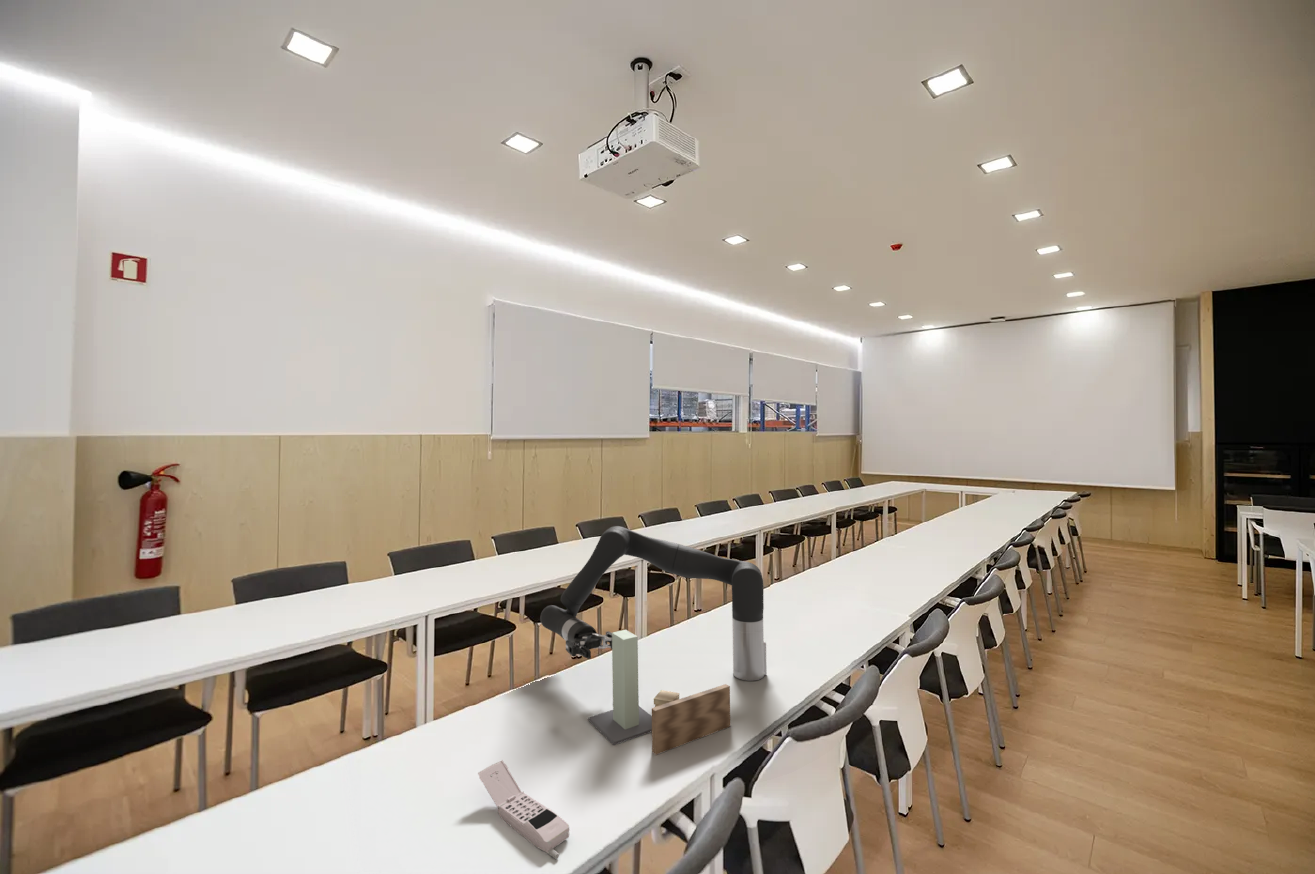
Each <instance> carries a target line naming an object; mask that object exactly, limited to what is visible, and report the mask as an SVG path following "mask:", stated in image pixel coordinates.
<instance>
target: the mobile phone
mask: <svg viewBox="0 0 1315 874" xmlns="http://www.w3.org/2000/svg"><path fill="white" fill-rule="evenodd" d="M477 775H478V776H479V779H480V781H481V783H483V785H484V788H485V789H486V791H487V792H488V794H489V796H490V797H491V799H492V800H493V802H494V804H495V805H496V807H497V811H498V815H499V816H500V818H501V819H502V820H503V821H504V822H506V823H507V824H508V825H509V826H510V827H511V828H512V829H514V830H515V831H516V832H517V833H518V834H520V835H521V836H522V837H524V839H526V840H527V841H528V842H529V843H531V844H532V845H533V846H534V847H535V848H538V849H539V850H541V851H543V852H545V853H546V854H548V855H549V856H550V857H552V858H554V859H556V860H557V859H558V858H559V857H560V853H559V852H557V851H556V850H555V849H554V848H556V847H557V846H559V845H560V844H561V843H563V842H564V841H566V840H567V839H568V838H569V837H570V825H569V823H567V821H565V820H564V819H563V818H562V817H561V816H560V815H558V814H557V813H556V812H554V811H553V810H552V809H550V808H549V807H546V806H545V805H544V804H542V803H541V802H539V801H537V800H536V799H534V798H533V797H531V796H530V795H528V794H527V793H525V792H524V791H521V789H520V787H519V785H518V784H517V781H516V780H515V778H514V777H513V775H512V774H511V772H510V770H509V767H508V765H507V763H506V762H504V761H503V759H502V760H500V761H497V762H494V764H491V765H489V766H487V767H486V768H484V769H482V770H480V771H478V772H477Z"/></svg>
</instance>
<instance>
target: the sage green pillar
mask: <svg viewBox="0 0 1315 874" xmlns="http://www.w3.org/2000/svg"><path fill="white" fill-rule="evenodd" d="M611 633H612V649H611V650H612V651H611V654H612V655H611V657H612V658H611V659H612V660H611V661H612V663H611V664H612V665H611V666H612V670H611V671H612V710H613V720H615V721H616V722H617V723H618V724H619V725H620V726H621V727H623V728H624V729H628V728H631V727H634V726H637V725H639V706H640V705H639V702H640V701H639V697H640V696H639V647H638V646H639V645H638V644H639V643H638V640H639V639H638V635H636V634H634V633H632V632H631V631H629V630H627V629H623V630H617V631H614V632H611Z"/></svg>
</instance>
